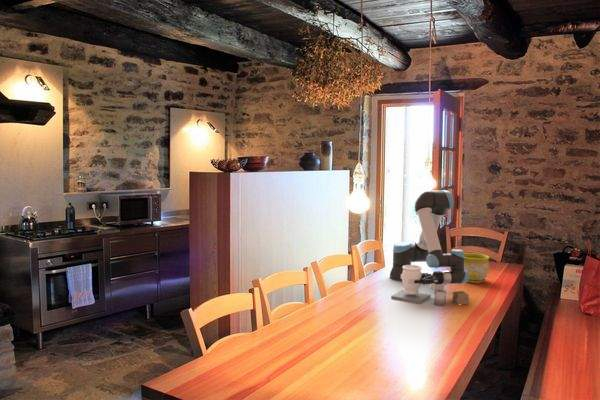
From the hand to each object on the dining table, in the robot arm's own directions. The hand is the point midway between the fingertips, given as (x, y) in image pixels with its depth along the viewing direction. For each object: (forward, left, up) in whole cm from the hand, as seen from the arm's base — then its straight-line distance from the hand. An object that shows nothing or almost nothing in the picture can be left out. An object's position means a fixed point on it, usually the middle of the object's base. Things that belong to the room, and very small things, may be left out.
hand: (404, 279), depth 284 cm
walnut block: (-9, +29, -11) cm, 32 cm away
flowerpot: (-63, +21, -11) cm, 67 cm away
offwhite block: (-29, +9, -11) cm, 32 cm away
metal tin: (-1, +20, -11) cm, 23 cm away
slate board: (-3, +3, -11) cm, 12 cm away
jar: (-3, +3, -8) cm, 9 cm away
